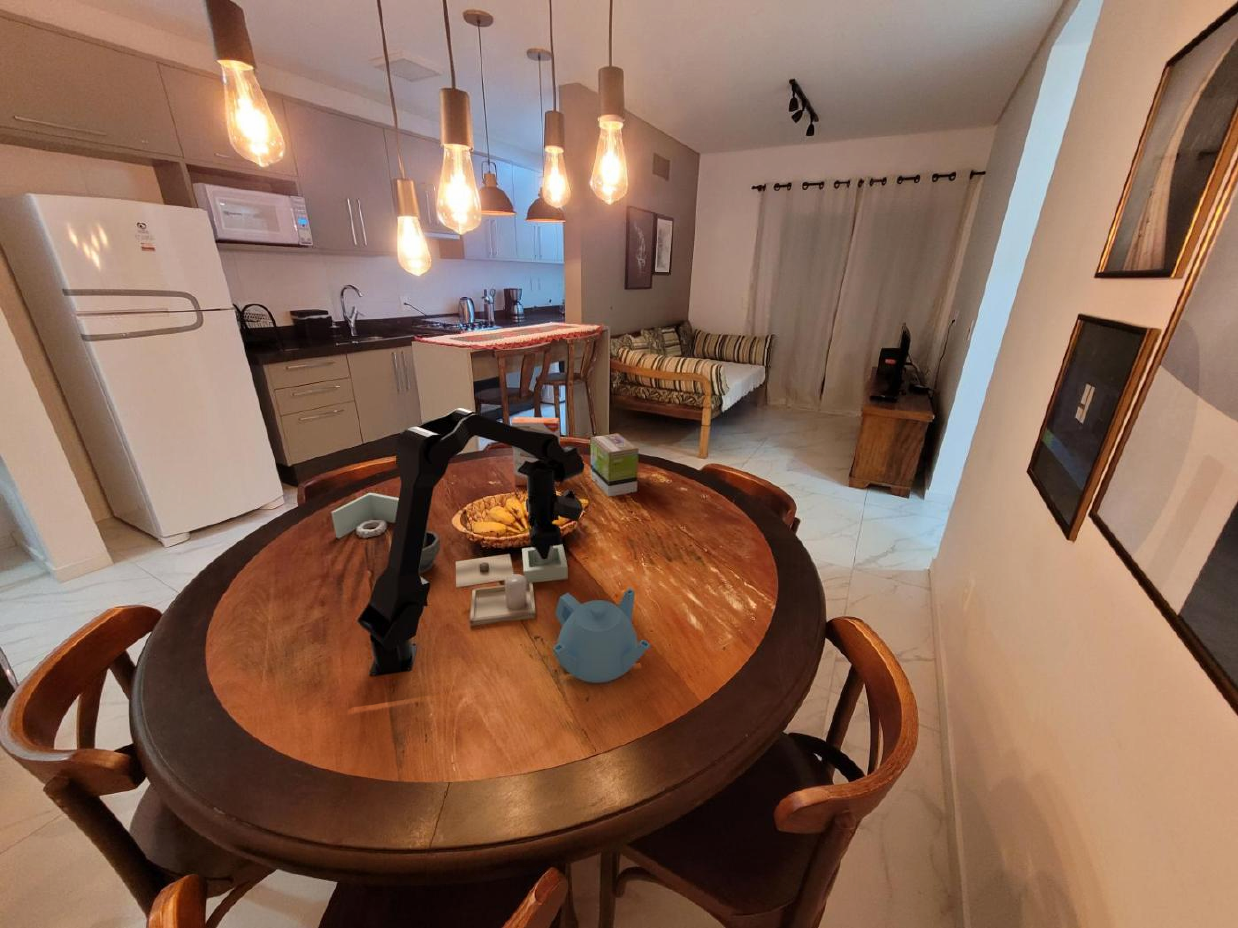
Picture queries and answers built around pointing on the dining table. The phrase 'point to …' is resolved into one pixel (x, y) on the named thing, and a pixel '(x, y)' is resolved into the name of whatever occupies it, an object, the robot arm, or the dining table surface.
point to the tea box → (614, 464)
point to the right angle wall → (365, 515)
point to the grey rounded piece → (544, 561)
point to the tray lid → (483, 570)
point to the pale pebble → (515, 591)
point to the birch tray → (498, 606)
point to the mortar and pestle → (429, 551)
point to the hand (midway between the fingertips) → (543, 553)
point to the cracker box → (537, 423)
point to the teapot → (597, 638)
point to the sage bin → (544, 566)
